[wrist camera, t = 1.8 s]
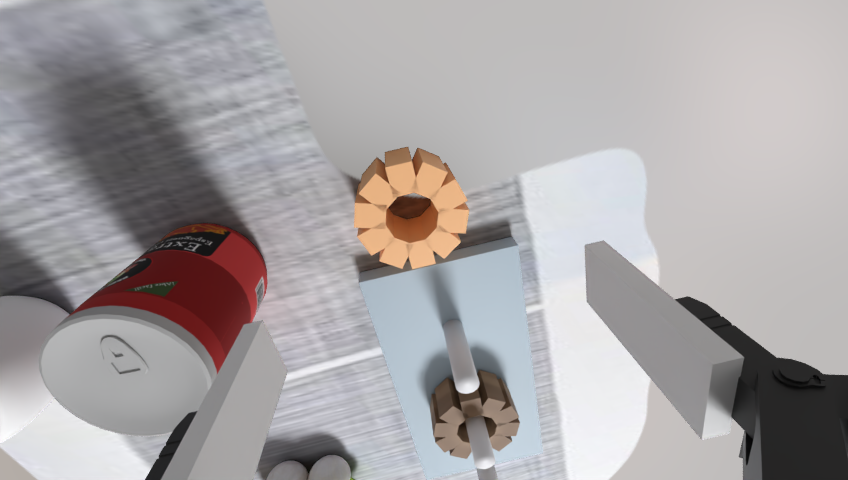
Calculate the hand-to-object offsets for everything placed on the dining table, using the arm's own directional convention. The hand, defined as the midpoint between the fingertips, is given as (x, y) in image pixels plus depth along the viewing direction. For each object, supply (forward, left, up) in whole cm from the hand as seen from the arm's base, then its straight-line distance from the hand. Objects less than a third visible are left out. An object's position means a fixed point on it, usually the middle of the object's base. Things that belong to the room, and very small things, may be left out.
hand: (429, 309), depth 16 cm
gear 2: (+19, +1, -12) cm, 22 cm away
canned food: (+2, -15, -14) cm, 20 cm away
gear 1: (0, 0, -13) cm, 13 cm away
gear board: (+17, +1, -13) cm, 21 cm away
